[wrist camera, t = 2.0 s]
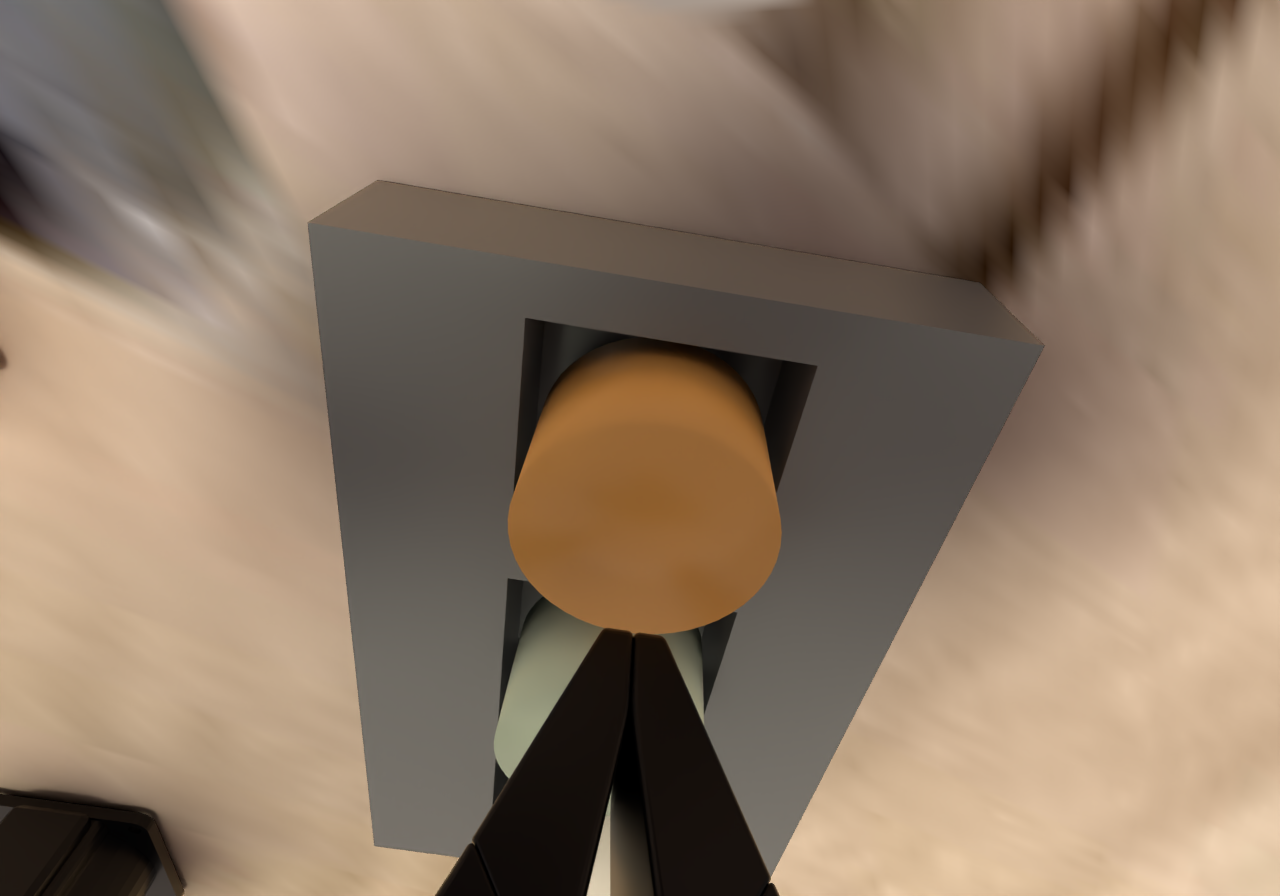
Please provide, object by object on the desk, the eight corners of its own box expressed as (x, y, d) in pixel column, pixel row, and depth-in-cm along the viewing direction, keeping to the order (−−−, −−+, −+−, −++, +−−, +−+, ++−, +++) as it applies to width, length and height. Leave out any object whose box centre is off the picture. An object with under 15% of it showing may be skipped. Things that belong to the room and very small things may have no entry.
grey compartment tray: (752, 804, 24) (760, 897, 22) (407, 756, 24) (374, 846, 21) (980, 282, 14) (1044, 346, 11) (377, 180, 14) (307, 222, 11)
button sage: (683, 713, 18) (683, 827, 16) (516, 689, 18) (489, 800, 16) (719, 594, 16) (725, 705, 13) (527, 565, 16) (498, 673, 13)
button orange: (735, 541, 15) (745, 650, 13) (532, 509, 15) (501, 614, 12) (789, 358, 13) (816, 448, 10) (549, 318, 12) (514, 400, 10)
